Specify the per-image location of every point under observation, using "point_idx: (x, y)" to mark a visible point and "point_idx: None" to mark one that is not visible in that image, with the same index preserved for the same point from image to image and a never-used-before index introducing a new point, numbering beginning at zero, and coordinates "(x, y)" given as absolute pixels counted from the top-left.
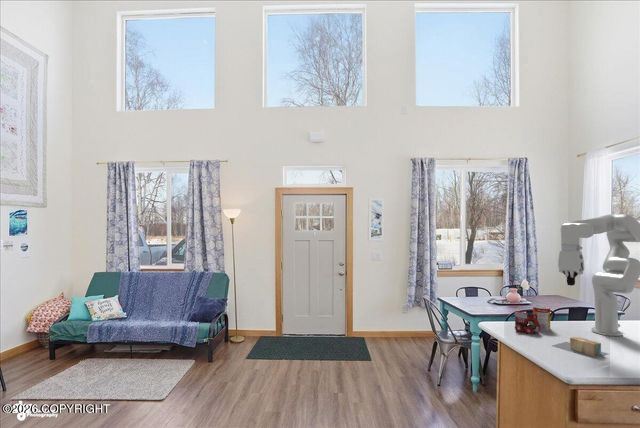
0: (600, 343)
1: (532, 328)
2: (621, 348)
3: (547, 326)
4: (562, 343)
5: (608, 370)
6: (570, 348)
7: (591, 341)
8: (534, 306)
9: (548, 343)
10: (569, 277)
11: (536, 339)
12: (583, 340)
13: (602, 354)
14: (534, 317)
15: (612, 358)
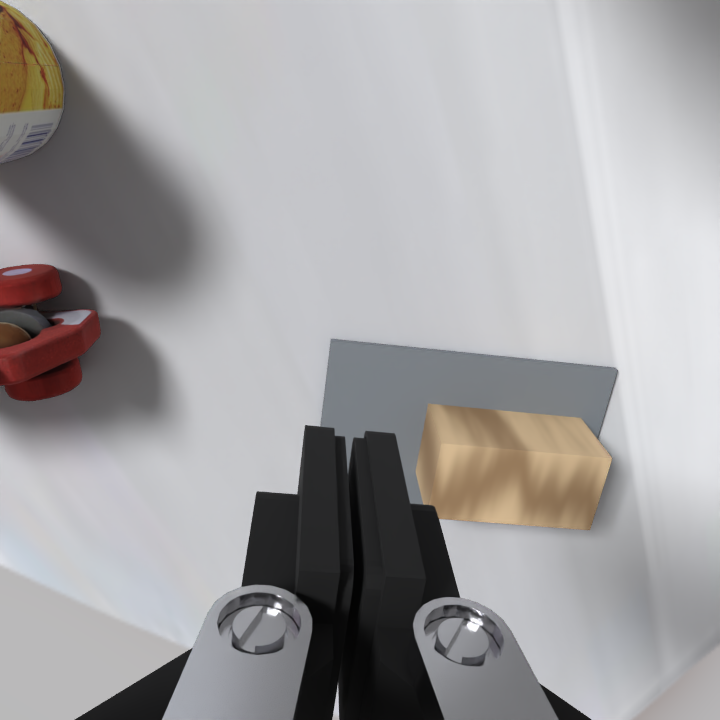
0: (608, 461)
1: (59, 379)
2: (658, 127)
3: (44, 115)
4: (335, 404)
5: (652, 616)
6: (417, 472)
7: (558, 482)
8: None
9: (266, 457)
10: (329, 714)
11: (168, 440)
12: (511, 503)
13: (588, 419)
14: (3, 372)
15: (640, 422)
